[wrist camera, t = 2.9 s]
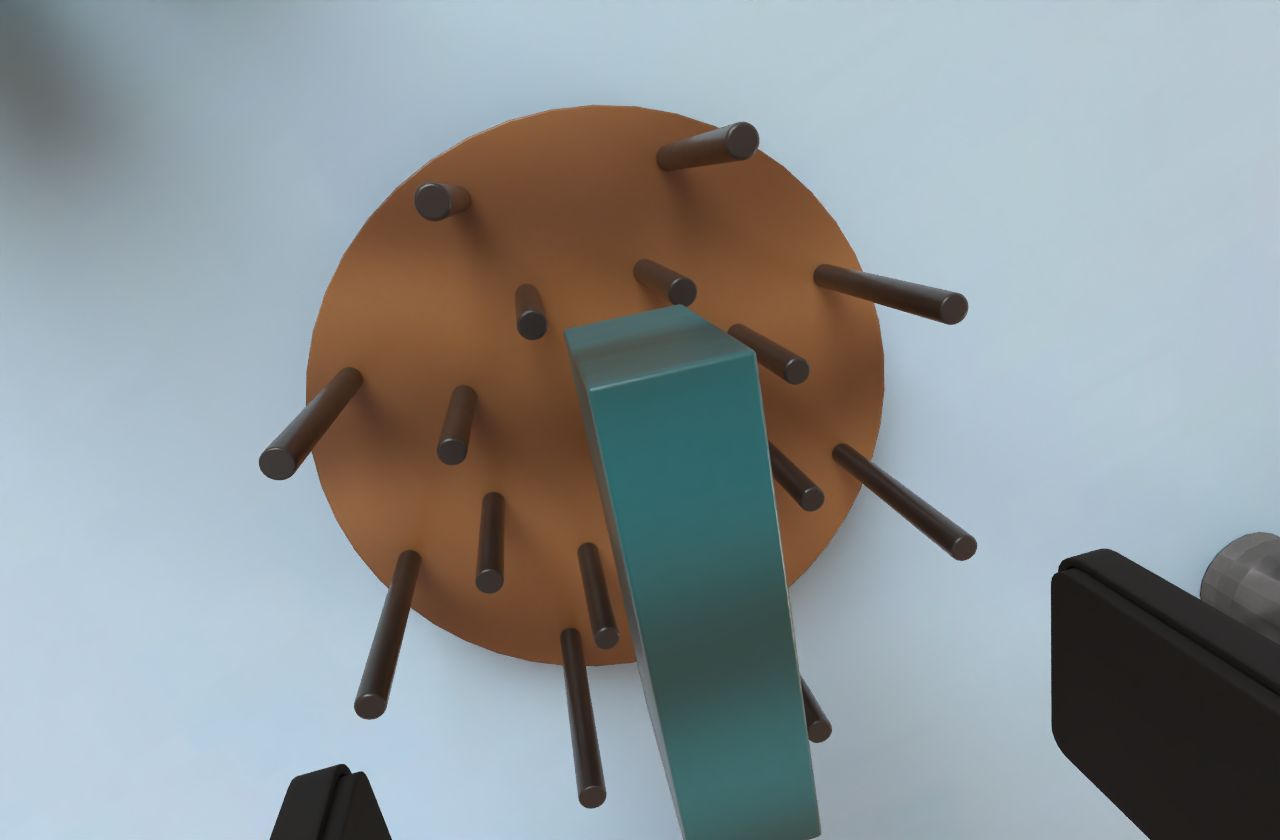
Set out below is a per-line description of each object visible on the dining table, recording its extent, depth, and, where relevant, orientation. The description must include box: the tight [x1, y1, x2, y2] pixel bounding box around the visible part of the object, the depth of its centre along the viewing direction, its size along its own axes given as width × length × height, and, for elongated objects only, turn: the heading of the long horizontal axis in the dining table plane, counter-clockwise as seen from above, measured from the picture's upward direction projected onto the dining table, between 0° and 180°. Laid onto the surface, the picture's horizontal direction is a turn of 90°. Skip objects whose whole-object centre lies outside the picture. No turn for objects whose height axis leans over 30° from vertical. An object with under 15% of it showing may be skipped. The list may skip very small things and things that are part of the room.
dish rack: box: [259, 105, 977, 840], centre depth 17 cm, size 18×18×13 cm
